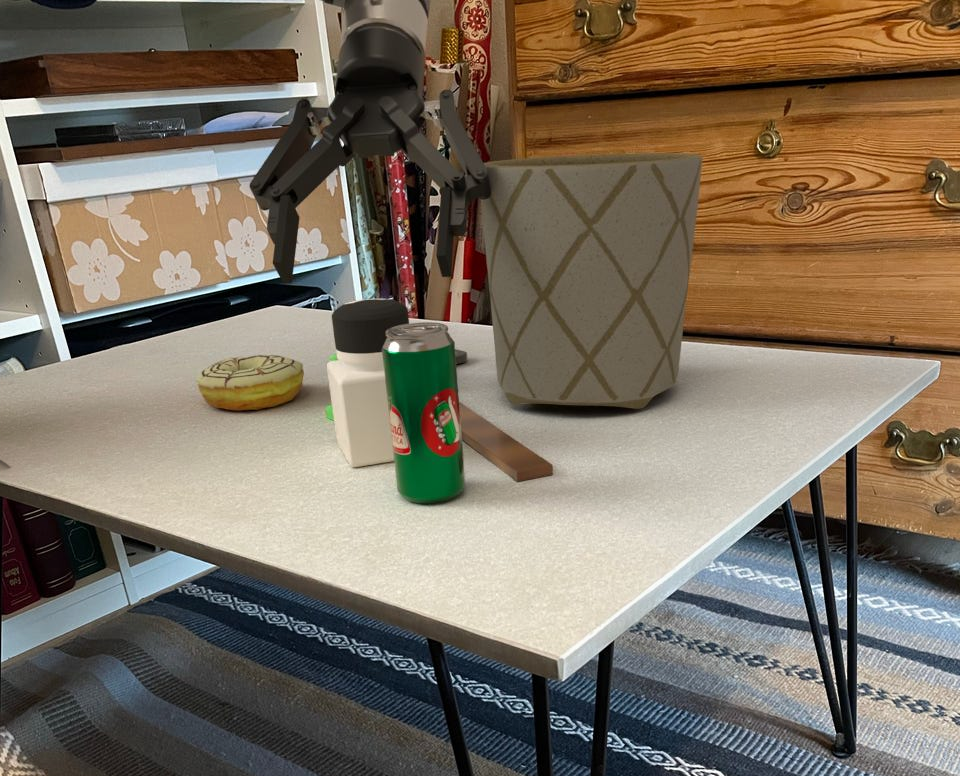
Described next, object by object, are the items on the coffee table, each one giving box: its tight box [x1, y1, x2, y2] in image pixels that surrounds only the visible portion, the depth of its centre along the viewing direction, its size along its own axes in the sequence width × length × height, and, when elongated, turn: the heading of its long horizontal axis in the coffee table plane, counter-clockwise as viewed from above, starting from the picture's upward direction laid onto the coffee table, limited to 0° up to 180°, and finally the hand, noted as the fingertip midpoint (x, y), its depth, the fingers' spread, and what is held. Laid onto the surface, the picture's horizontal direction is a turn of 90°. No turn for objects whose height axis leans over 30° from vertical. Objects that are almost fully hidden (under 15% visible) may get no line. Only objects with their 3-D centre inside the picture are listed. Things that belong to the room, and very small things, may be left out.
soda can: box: [382, 321, 466, 505], centre depth 70 cm, size 5×5×12 cm
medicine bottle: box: [326, 298, 410, 468], centre depth 80 cm, size 7×7×12 cm
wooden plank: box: [459, 401, 554, 482], centre depth 85 cm, size 26×3×1 cm, turn 22°
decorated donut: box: [196, 354, 305, 412], centre depth 99 cm, size 10×11×4 cm
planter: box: [480, 152, 703, 410], centre depth 89 cm, size 19×19×20 cm
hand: (362, 270), depth 80 cm, fingers open, 13 cm apart
